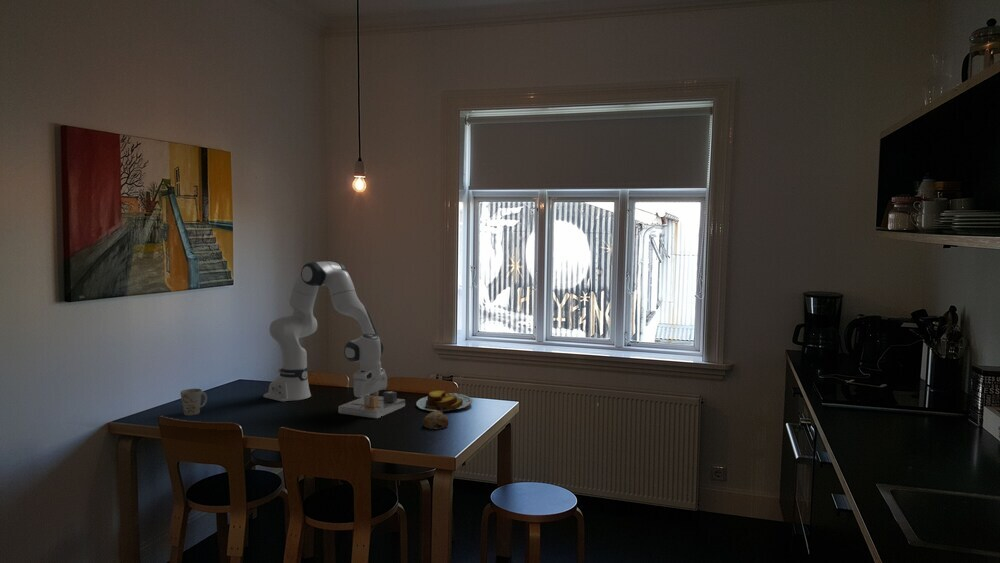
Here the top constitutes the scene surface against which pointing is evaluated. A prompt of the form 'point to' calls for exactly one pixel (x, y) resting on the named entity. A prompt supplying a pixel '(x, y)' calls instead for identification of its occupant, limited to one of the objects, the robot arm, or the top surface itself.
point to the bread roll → (435, 420)
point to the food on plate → (444, 401)
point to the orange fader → (372, 401)
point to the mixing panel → (370, 408)
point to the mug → (192, 401)
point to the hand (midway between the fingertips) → (371, 402)
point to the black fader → (390, 396)
